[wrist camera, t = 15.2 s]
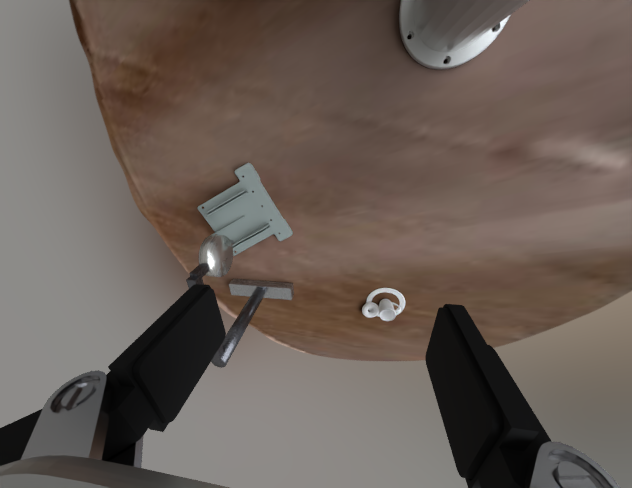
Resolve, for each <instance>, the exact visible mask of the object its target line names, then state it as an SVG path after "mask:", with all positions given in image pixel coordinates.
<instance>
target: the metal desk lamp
mask: <svg viewBox="0 0 632 488" xmlns="http://www.w3.org/2000/svg"><path fill="white" fill-rule="evenodd" d="M234 243H235V242H234V241H233V240H230V239H229V238H228V237H227V236H224V235H210V236H208V237H207V238H206V239H205V240H204V241H203V243H202V245H201V247H200V251H199V266H197V267H196V268H195V269H194V270H193V271H192V272H191V273H189V274H190V277H189V278H188V279H187V280H186V281H187V283H188V287H189V289H190V288H191V287H192V286H193V285H194V284H202V285H204V283H203V280H202V277H203V276H204V275H207V276H214V277H222V276H224V275H226V274H227V272H228V271H229V269H230V267H231V264H232V260H233V247H232V245H233V244H234ZM229 287H230V291H231V295H240V296H251V297H250V298H249V300H248V301H247V303H246V304H245V306H244V308H243V309H242V311H241V312H240V314H239V316H238V317H237V319H236V320H235V322H234V324H233V325H232V327H231V328H230V330H229V331H228V333H227V335H226V336H225V339H224V341H223V343H222V344H221V346H220V347H219V349H218V351H217V352H216V354H215V355H214V357H213V359H212V360H211V362H212V363H213V364H214V365H215V366H217V367H225V366H226V364H227V362H228V360H229V358H230V357H231V355H232V353H233V351H234V350H235V348H236V346H237V344H238V342H239V340H240V339H241V337H242V335H243V333H244V331H245V329H246V328H247V326H248V324H249V322H250V321H251V319H252V317H253V315H254V313H255V311H256V310H257V308H258V306H259V304H260V302H261V301H262V299H263V297H264V298H276V299H288V300H292V298H293V295H294V288H293V283H287V282H273V281H259V280H245V279H232V281H231V282H230V283H229Z"/></svg>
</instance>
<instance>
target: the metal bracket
mask: <svg viewBox="0 0 632 488" xmlns="http://www.w3.org/2000/svg"><path fill="white" fill-rule="evenodd" d="M235 174H236V175H237V177H238V178H239V180H240V182H239V183H237V184H236V185H234V186H232V187H230V188H229V189H227V190H225V191H224V192H222V193H220V194H219V195H217V196H215V197H214V198H212V199H210V200H209V201H207V202H205V203H203V204H202V205H200V206H198V210H199V211H200V213H201V214H202V215H203V217H204V218H205V219H206V221H207V222H208V223H209V225H210V226H211V227H212V229H213V230H214V231H215V233H214V234H212V235H215V234H217V235H224V236H227V237H228V238H229V239H230V240H233V241H234V242H235V243H234V244H233V245H232V247H233V256H235V255H237V254H238V253H240V252H242V251H244V250H246V249H247V248H249V247H251V246H253V245H254V244H256V243H258V242H260V241H262V240H263V239H265V238H267V237H269V236H270V235H272V234H275V236H276V237H277V239H278V240H279V241H282V240H284V239H286V238H288V237H290V236H291V235H292V234H293V232H292V230H291V229H290V227H289V225H288V224H287V222H286V220H285V219H283V217H282V216H281V214H280V213H279V211H278V209H277V208H276V206H275V204H274V203H273V201H272V200H271V198H270V196H269V195H268V193H267V191H266V190H265V188H264V187H263V185H262V183H261V182H260V177H259V176H258V174H257V172H256V171H255V169H254V167H253V166H252V164H250V163H247V164H245V165H243V166H242V167H240V168H238V169H237V170H235ZM242 176H244V178H243V177H242ZM252 191H254V193H252ZM261 205H263V207H261ZM202 206H203V207H204V209H202ZM270 219H272V221H270ZM279 233H280V234H279ZM234 251H237V253H235V252H234Z"/></svg>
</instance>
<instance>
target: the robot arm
mask: <svg viewBox="0 0 632 488" xmlns="http://www.w3.org/2000/svg"><path fill="white" fill-rule="evenodd" d="M528 1H530V0H401V2H400V10H399V29H400V33H401V38H402V41H403V43H404V46H405V48H406V50H407V51H408V53H409V54H410V56H411V57H412V58H413V59H414V60H415V61H417V62H418V63H419V64H421V65H423V66H425V67H427V68H431V69H436V70H437V69H450V68H454V67H457V66H459V65H462V64H464V63H466V62H468V61H470V60H471V59H473V58H475V57H476V56H477V55H479V54H480V53H481V52H483V51H484V50H485V49H486V48H487V47H488V46H489V45H490V44H491V43H492V42H493V41H494V40H495V39H496V37H497V36H498V35H499V34H500V32H501V31H502V30H503V28H504V26H505V25H506V23H507V21H508V19H509V18H510V16H511V14H512V13H513V12H515V11H516V10H517V9H519V8H520V7H522V6H523V5H524V4H526V3H527V2H528ZM492 28H494V32H493V31H492ZM408 35H410V36H411V39H410V40H409V39H407V36H408ZM444 60H446V61H447V62H446V64H444V63H443V61H444ZM225 335H226V333H225V329H224V325H223V321H222V318H221V314H220V311H219V308H218V304H217V300H216V297H215V293H214V290H213V289H211V287H210V286H209V285H202V284H194V285H193V286H192V287H191V288H190V289H189V290H188V291H186V293H184V294H183V295H182V296H181V297H180V298H179V299H178V300H177V301H176V302H175V303H174V304H173V305H172V306H171V307H170V308H169V309H168V310H167V311H166V312H165V313H164V314H163V315H161V317H159V318H158V319H157V320H156V321H155V322H154V323H153V324H152V325H151V326H150V327H149V328H148V329H147V330H146V331H145V332H144V333H143V334H142V335H141V336H140V337H139V338H138V339H136V340H135V342H133V343H132V344H131V345H130V346H129V347H128V348H127V349H126V350H125V351H124V352H123V353H122V354H121V355H120V356H119V357H118V358H117V359H116V360H115V361H114V362H113V363H112V364H110V365H109V366H108V367H109V369H110V370H111V371H110V372H109V373H108V374H107V375H106V374H105V373H104V372H101V371H91V372H87V373H84V374H81V375H79V376H77V377H75V378H73V379H72V380H70V381H68V382H67V383H65V384H64V385H62V386H61V387H60V388H59V389H58V390H57V391H55V393H53V394H52V396H51V397H50V398H49V399H48V400H47V402H46V404H45V405H44V407H43V409H41V410H39V411H37V412H35V413H32V414H30V415H28V416H26V417H24V418H21V419H19V420H17V421H15V422H13V423H11V424H8V425H6V426H4V427H2V428H0V488H229V487H224V486H220V485H215V484H211V483H206V482H202V481H197V480H192V479H188V478H183V477H179V476H174V475H170V474H165V473H161V472H156V471H151V470H147V469H142V468H141V462H142V447H143V435H144V433H145V432H146V430H147V429H148V428H149V429H151V430H157V431H162V432H163V431H164V430H165V428H166V427H167V425H168V423H169V422H172V421H173V420H174V419H175V418H176V416H177V415H178V413H179V411H180V410H181V408H182V406H183V405H184V403H185V402H186V400H187V399H188V397H189V395H190V394H191V392H192V391H193V389H194V387H195V386H196V384H197V383H198V381H199V379H200V378H201V376H202V375H203V373H204V371H205V370H206V368H207V366H208V365H209V363H210V362H211V360H212V359H213V357H214V355H215V354H216V352H217V351H218V349H219V347H220V346H221V344H222V343H223V341H224V339H225ZM426 365H427V368H428V371H429V375H430V379H431V381H432V385H433V389H434V392H435V396H436V399H437V402H438V406H439V409H440V413H441V416H442V419H443V423H444V426H445V430H446V433H447V437H448V440H449V443H450V447H451V450H452V454H453V457H454V460H455V463H456V467H457V470H458V472H459V475H460V476H461V477H463V478H465V479H466V482H467V485H468V488H620V486H619V485H618V484H617V483H616V482H615V480H614V479H613V478H612V477H611V476H610V475H609V474H608V473H607V472H606V471H605V470H604V469H603V468H602V467H601V466H600V465H599V464H598V463H596V462H595V461H594V460H592V459H591V458H589V457H588V456H587V455H586V454H584V453H582V452H581V451H579V450H577V449H575V448H573V447H571V446H569V445H566V444H563V443H560V442H551V440H550V438H549V437H548V435H547V433H546V432H545V430H544V428H543V427H542V425H541V424H540V422H539V420H538V419H537V417H536V415H535V414H534V413H533V411H532V409H531V407H530V406H529V404H528V403H527V401H526V399H525V398H524V396H523V395H522V393H521V391H520V390H519V388H518V387H517V385H516V383H515V382H514V380H513V378H512V377H511V375H510V374H509V372H508V370H507V369H506V367H505V366H504V364H503V362H502V361H501V359H500V358H499V356H498V354H497V353H496V351H495V350H494V349H493V347H491V346H490V345H487V344H486V342H485V340H484V339H483V337H482V335H481V334H480V332H479V330H478V329H477V327H476V325H475V324H474V322H473V320H472V319H471V317H470V315H469V314H468V312H467V310H466V309H465V307H464V306H462V305H452V304H445V305H444V307H443V308H439V309H438V313H437V316H436V320H435V323H434V327H433V331H432V334H431V338H430V342H429V345H428V349H427V352H426Z"/></svg>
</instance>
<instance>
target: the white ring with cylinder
mask: <svg viewBox="0 0 632 488" xmlns="http://www.w3.org/2000/svg"><path fill="white" fill-rule="evenodd" d="M382 292H389V293H392V294H394V295H396V296H397V297H398V299H399V301H400V305H397V304H396V303H393V302H391V301H390V300H389V299H382V300H381V301H380V303H379V306H378V305H377V304H376V303H373V302H372V299H373V297H374V296H375V295H377V294H379V293H382ZM393 305H396V306H398V309H397V310H394V307H393ZM404 307H405V299H404V297H403V295H402V294H401V293H400V292H398V291H397V290H394V289H391V288H380V289H377V290H375V291H373V292H372V293H370V294H369V296H368V297H367V300H366V304H365V305H364V306H363V307H362V313H363V315H364V316H366V317H369V318H371V317H375V316H378V317H380V318H381V319H382V320H384V321H391V320H393V319H394V318H395V316H396V315H398V314H399V313H401V312H402V311H403V309H404ZM368 310H369V311H370V312H368Z"/></svg>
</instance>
